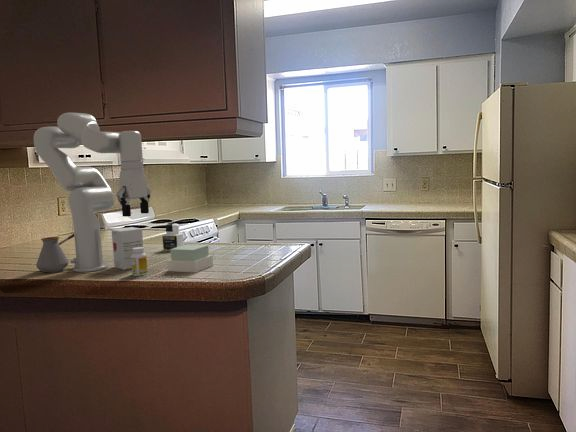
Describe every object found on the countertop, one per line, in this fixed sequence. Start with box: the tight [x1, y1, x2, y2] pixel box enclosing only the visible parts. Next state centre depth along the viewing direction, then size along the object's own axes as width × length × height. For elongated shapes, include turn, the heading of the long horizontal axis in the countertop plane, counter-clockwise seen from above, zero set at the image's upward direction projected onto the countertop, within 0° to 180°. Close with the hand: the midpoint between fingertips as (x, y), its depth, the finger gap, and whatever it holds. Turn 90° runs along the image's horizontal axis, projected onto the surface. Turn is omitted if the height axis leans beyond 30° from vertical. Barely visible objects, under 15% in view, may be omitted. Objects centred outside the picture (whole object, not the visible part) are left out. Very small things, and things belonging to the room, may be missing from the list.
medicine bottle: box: [162, 223, 185, 252], centre depth 232 cm, size 7×7×12 cm
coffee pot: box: [35, 233, 74, 273], centre depth 197 cm, size 21×12×15 cm, turn 143°
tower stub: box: [166, 244, 214, 273], centre depth 187 cm, size 12×12×8 cm
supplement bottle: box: [131, 246, 149, 277], centre depth 180 cm, size 5×5×10 cm
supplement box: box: [111, 226, 144, 271], centre depth 195 cm, size 9×9×15 cm
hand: (136, 214), depth 178 cm, fingers open, 9 cm apart
